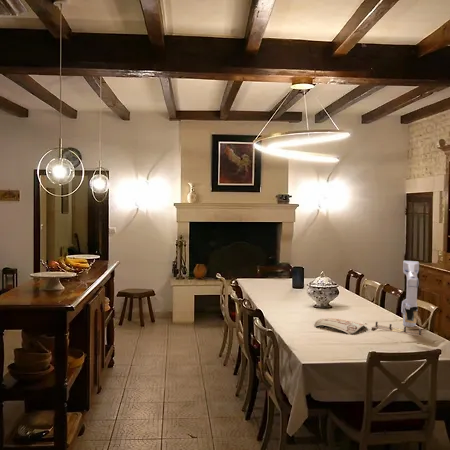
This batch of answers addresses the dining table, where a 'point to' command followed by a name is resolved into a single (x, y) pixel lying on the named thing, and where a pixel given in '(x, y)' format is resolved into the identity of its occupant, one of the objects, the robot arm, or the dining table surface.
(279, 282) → the dining table surface
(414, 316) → the light brown rectangular slab
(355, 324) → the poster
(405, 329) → the peg board
